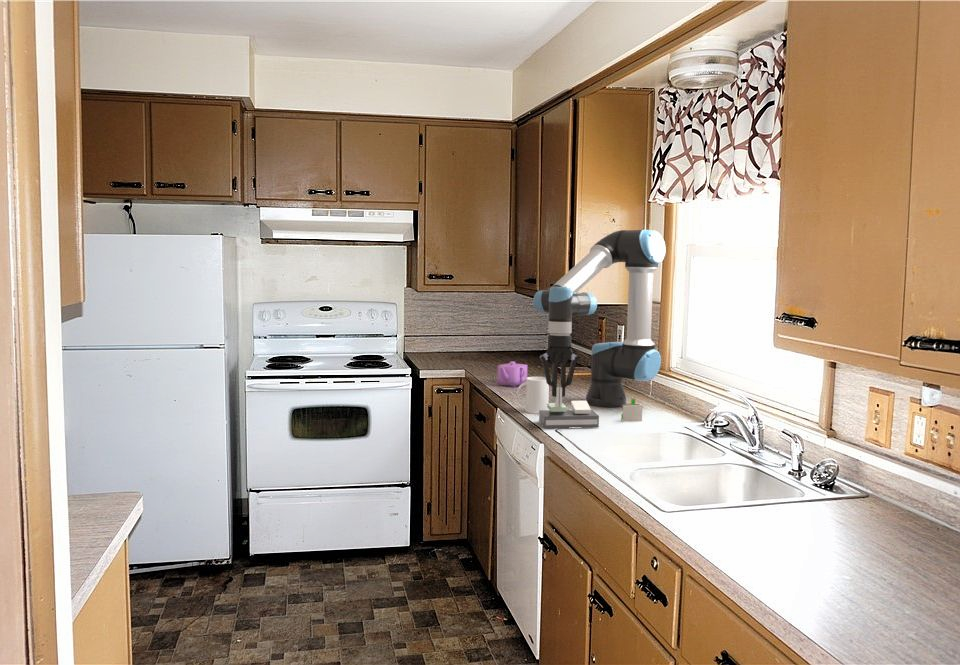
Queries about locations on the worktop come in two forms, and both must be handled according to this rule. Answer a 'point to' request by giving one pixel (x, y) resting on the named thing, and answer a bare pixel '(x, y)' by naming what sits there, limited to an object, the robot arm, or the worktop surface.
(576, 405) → the rocker cream
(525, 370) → the teapot
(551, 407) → the rocker green
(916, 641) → the worktop surface
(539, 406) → the mug
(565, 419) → the switch panel
